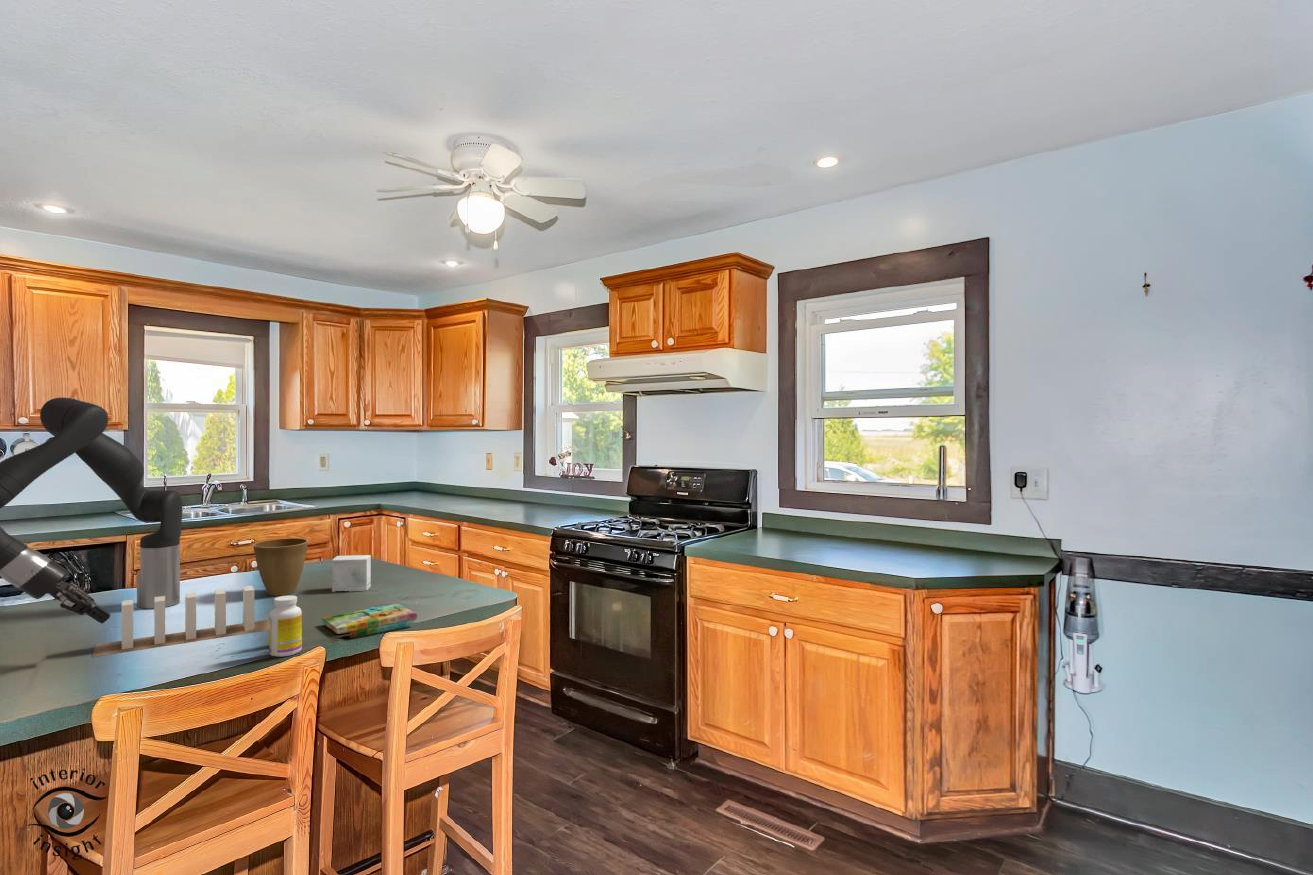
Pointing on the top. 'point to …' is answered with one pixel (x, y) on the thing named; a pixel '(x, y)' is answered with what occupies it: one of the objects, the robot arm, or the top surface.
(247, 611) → the domino
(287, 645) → the supplement bottle
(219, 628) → the domino
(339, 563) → the skincare box
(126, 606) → the domino
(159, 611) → the domino
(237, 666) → the top surface
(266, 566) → the plant pot
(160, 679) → the top surface
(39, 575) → the robot arm
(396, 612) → the puzzle game
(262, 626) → the domino board
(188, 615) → the domino
